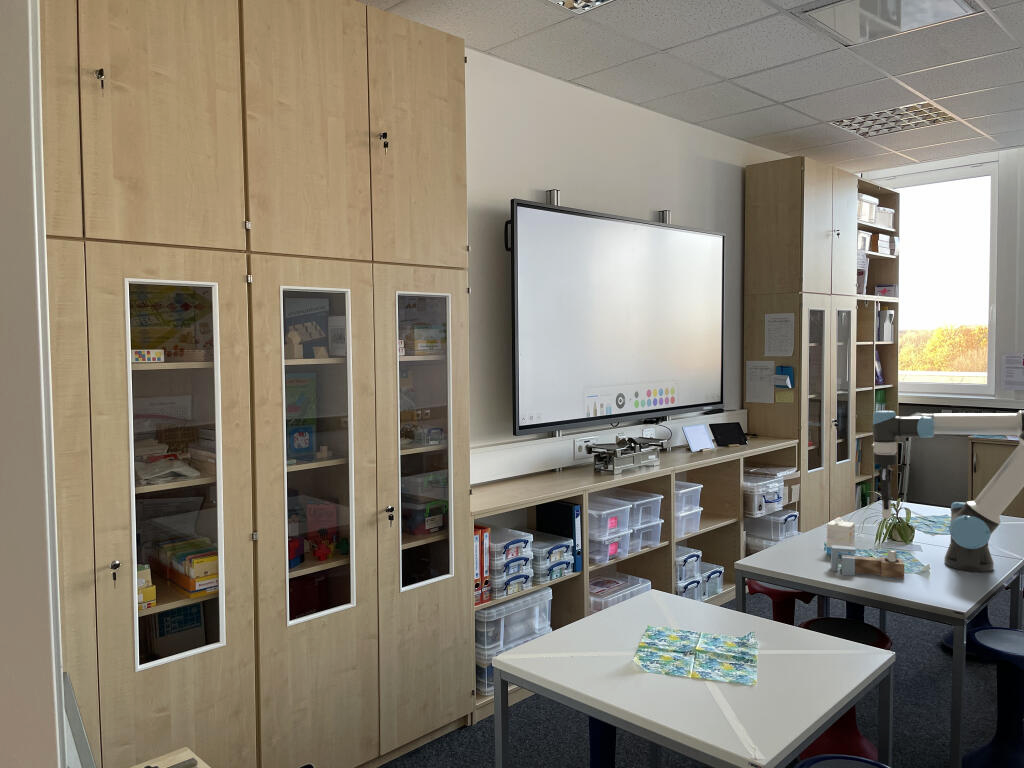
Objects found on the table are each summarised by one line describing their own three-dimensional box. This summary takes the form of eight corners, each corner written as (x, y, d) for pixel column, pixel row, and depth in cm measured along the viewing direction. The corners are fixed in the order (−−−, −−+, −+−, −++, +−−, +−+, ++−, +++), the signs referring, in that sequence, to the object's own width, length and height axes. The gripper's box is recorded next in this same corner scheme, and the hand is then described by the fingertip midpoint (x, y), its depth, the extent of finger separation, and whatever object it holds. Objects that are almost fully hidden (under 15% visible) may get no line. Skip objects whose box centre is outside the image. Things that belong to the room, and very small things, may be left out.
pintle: (896, 573, 260) (897, 551, 259) (895, 575, 257) (896, 553, 257) (888, 572, 261) (888, 549, 261) (886, 574, 259) (887, 551, 258)
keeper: (853, 569, 265) (854, 546, 265) (856, 575, 258) (856, 552, 257) (831, 567, 267) (831, 545, 267) (832, 573, 260) (833, 550, 260)
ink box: (849, 557, 280) (850, 522, 279) (826, 553, 285) (826, 519, 285) (854, 552, 287) (855, 518, 286) (832, 548, 292) (832, 515, 291)
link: (901, 572, 261) (901, 558, 260) (904, 578, 254) (904, 564, 254) (841, 567, 268) (841, 553, 267) (842, 572, 261) (842, 558, 261)
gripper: (875, 450, 276) (877, 513, 277) (871, 455, 265) (873, 520, 266) (898, 451, 272) (900, 515, 273) (894, 455, 261) (896, 522, 262)
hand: (886, 517), depth 269 cm, fingers closed
